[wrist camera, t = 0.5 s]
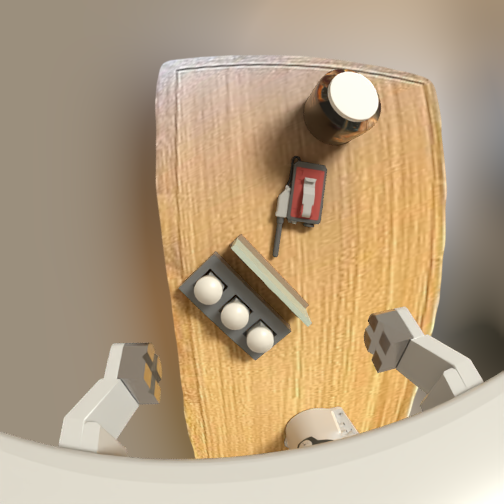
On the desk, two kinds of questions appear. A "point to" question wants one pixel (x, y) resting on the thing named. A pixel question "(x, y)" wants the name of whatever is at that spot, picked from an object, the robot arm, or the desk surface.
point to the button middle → (235, 314)
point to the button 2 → (259, 338)
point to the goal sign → (270, 277)
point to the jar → (341, 107)
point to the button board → (245, 293)
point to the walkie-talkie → (301, 197)
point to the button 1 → (208, 289)
